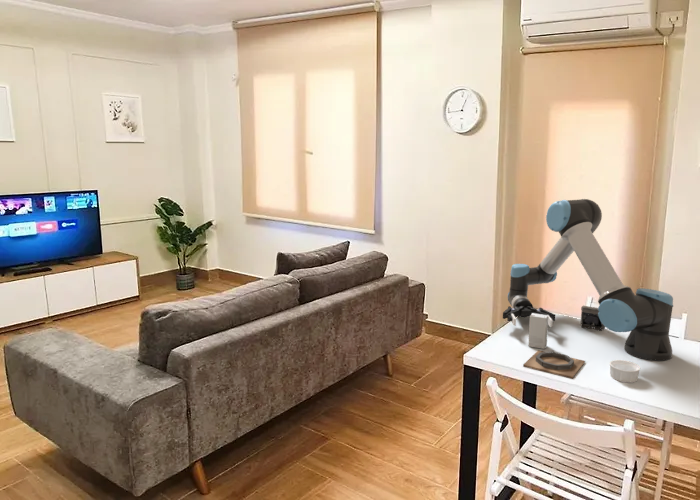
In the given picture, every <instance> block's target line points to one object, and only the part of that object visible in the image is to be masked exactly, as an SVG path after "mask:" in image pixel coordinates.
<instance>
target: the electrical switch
mask: <svg viewBox="0 0 700 500" xmlns="http://www.w3.org/2000/svg"><path fill="white" fill-rule="evenodd" d="M598 313H599V311H598V307H595V306H587V305H582V306H581V313H580V314H581V315H580V326H581V329H582V328H583V329H588V330H593V331H598V330H599V332H602V331H603V330H605V329H606V327H605V326H604V325H603V324H602V322H601V321H600V319H599V316H598Z"/></svg>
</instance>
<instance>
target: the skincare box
mask: <svg viewBox="0 0 700 500" xmlns="http://www.w3.org/2000/svg"><path fill="white" fill-rule="evenodd" d="M528 327H529V329H528V347H530V348H531V347H532V348H537V349H543V350H545V349H546V348H547V345H548V330H549V329H548V327H549V325H548V315H542V314H535V313H532V314H531V315H530V316H529V326H528Z"/></svg>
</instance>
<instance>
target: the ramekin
mask: <svg viewBox="0 0 700 500" xmlns="http://www.w3.org/2000/svg"><path fill="white" fill-rule="evenodd" d="M640 371H641V366H640V365H639V364H638V363H635V362H633V361H628V360H624V359H614V360H612V361H610V362H609V375H610V377H611V378H612V379H614V380H615V381H618V382H622V383H628V384H629V383H635V382H637V381H638V379H639V374H640Z"/></svg>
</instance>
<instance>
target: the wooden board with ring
mask: <svg viewBox="0 0 700 500" xmlns="http://www.w3.org/2000/svg"><path fill="white" fill-rule="evenodd" d="M585 363H586V361H585V360H583V359H578V358H574V357H570V356H568V355H567V354H564V353H561V352H555V351H543V350H539V349H538V350H537V351H535V353H533V355H532V356H531V357H529V358H528V359H527V360H526V362H524V363H523V367H525V368H529V369H533V370H537V371H541V372H544V373H549V374H553V375H557V376H561V377H564V378H569V379H574V378H575V376H576V374H577V373H578V372H579V371H580V369H581V368H582V367H583V366H584V365H585Z"/></svg>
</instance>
